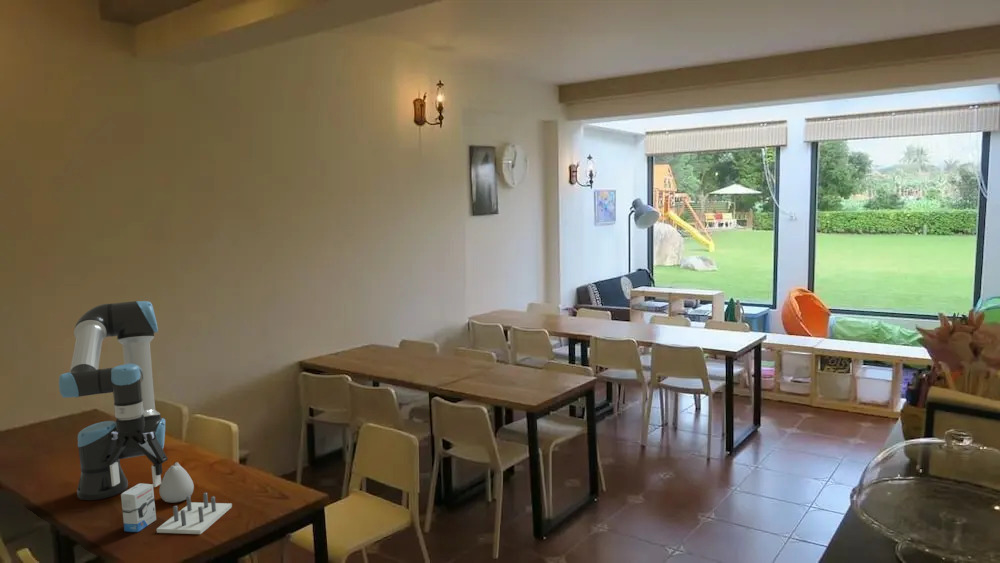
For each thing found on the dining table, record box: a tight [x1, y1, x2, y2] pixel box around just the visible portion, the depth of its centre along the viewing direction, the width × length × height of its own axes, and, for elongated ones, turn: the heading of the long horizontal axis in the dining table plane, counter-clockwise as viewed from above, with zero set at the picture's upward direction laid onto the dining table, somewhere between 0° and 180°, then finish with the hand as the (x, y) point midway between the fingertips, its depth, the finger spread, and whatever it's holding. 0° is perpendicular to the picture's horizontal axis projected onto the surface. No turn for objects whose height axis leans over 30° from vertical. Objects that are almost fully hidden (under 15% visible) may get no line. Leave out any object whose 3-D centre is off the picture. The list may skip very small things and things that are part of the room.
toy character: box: [158, 461, 195, 504], centre depth 229 cm, size 10×10×12 cm
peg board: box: [156, 492, 233, 535], centre depth 214 cm, size 14×18×6 cm
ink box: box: [120, 482, 157, 533], centre depth 211 cm, size 8×5×12 cm, turn 168°
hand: (136, 484), depth 209 cm, fingers open, 13 cm apart
